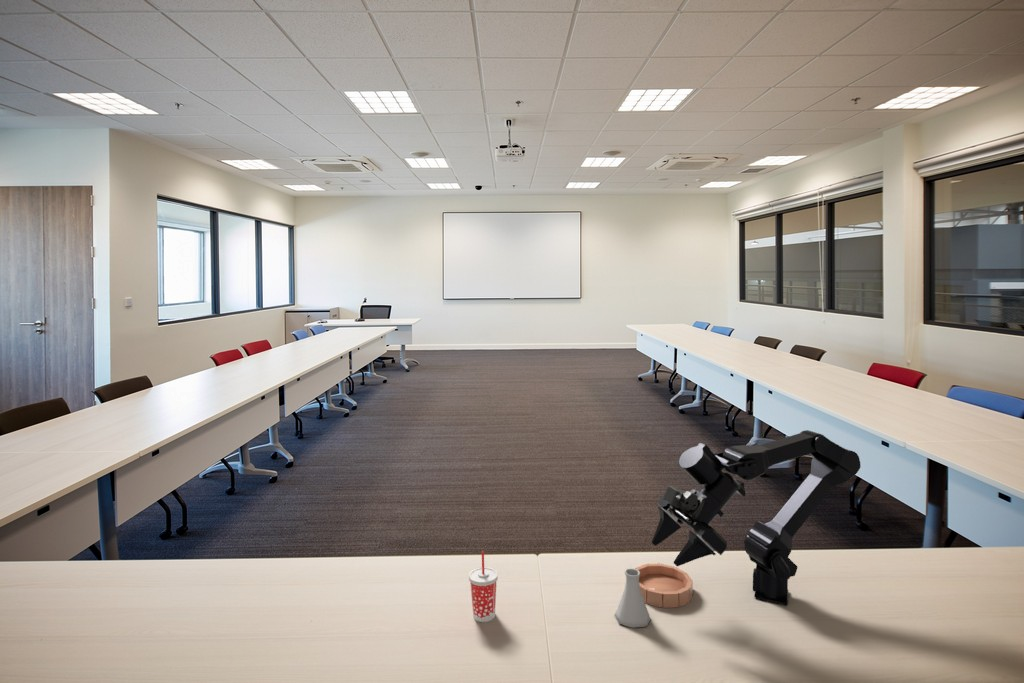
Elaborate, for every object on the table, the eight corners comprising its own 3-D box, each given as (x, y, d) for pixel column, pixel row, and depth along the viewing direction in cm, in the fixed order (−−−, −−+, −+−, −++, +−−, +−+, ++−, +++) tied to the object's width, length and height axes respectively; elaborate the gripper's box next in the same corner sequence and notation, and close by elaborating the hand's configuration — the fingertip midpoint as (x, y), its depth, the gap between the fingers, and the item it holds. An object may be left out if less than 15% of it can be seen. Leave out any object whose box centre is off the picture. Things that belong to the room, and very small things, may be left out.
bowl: (696, 583, 122) (696, 571, 122) (685, 613, 111) (685, 599, 111) (640, 571, 128) (640, 559, 128) (624, 598, 117) (624, 585, 117)
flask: (651, 630, 105) (651, 582, 105) (614, 627, 107) (614, 579, 106) (649, 610, 112) (649, 564, 112) (614, 606, 114) (614, 561, 113)
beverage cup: (482, 604, 116) (480, 542, 115) (504, 613, 112) (503, 549, 111) (463, 617, 111) (462, 553, 110) (486, 627, 107) (485, 561, 106)
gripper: (665, 460, 119) (619, 513, 118) (714, 488, 101) (660, 551, 99) (696, 491, 121) (651, 543, 120) (749, 524, 103) (698, 586, 102)
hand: (663, 554), depth 110 cm, fingers open, 9 cm apart
